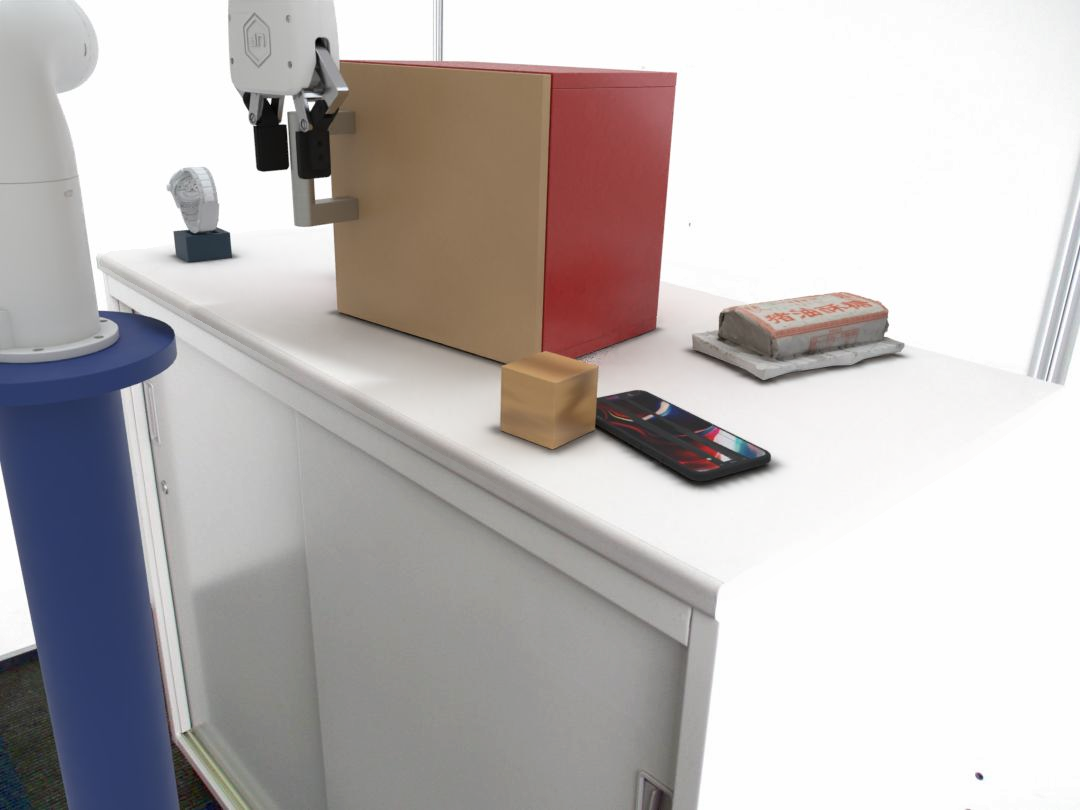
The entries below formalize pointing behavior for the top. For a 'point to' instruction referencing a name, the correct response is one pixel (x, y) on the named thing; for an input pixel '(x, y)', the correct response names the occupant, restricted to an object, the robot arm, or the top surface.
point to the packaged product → (799, 334)
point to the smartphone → (676, 436)
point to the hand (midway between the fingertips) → (293, 171)
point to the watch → (198, 216)
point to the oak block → (548, 399)
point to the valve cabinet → (599, 200)
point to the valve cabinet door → (438, 203)
